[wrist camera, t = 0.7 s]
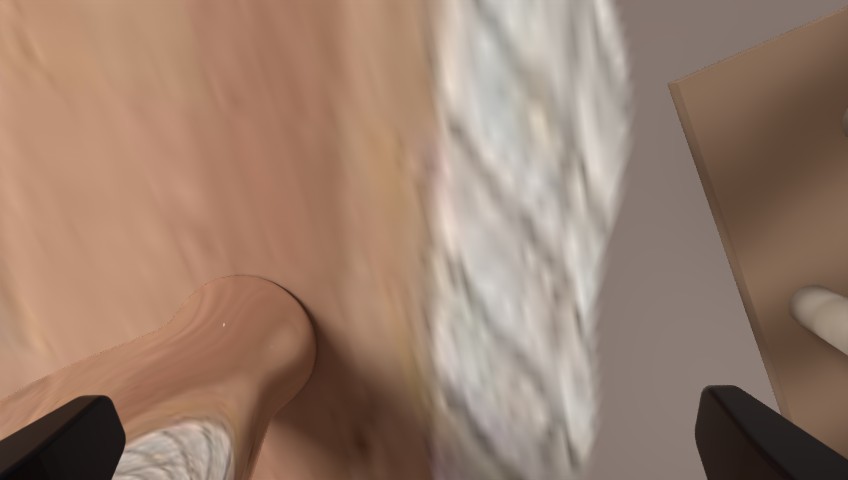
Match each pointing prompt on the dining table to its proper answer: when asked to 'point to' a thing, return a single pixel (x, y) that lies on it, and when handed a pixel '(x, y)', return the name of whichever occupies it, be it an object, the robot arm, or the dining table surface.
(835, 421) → the walnut board
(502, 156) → the dining table surface
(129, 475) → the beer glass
